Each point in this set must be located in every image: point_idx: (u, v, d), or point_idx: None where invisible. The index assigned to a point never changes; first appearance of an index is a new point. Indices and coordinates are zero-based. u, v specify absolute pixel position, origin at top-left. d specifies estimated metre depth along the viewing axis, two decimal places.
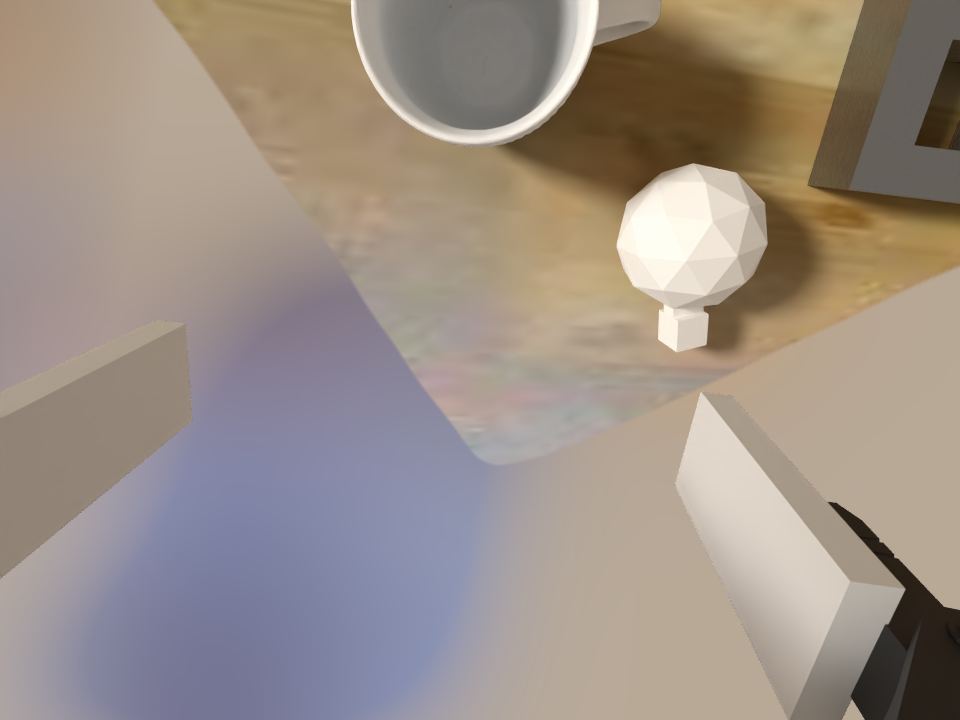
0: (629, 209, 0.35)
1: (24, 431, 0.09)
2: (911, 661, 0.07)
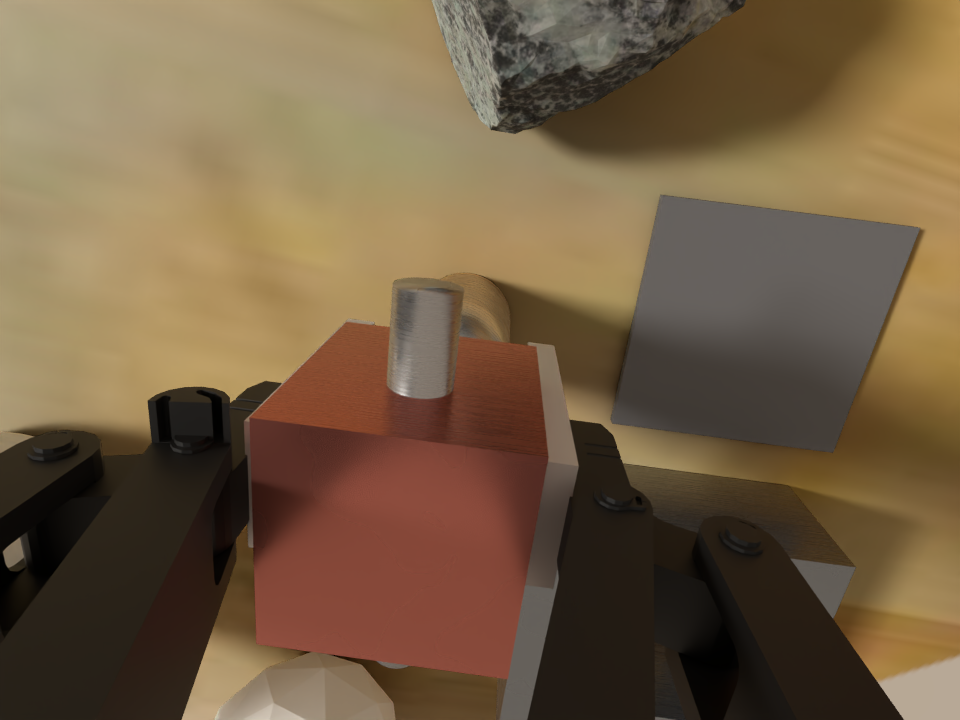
0: None
1: None
2: (569, 529, 0.08)
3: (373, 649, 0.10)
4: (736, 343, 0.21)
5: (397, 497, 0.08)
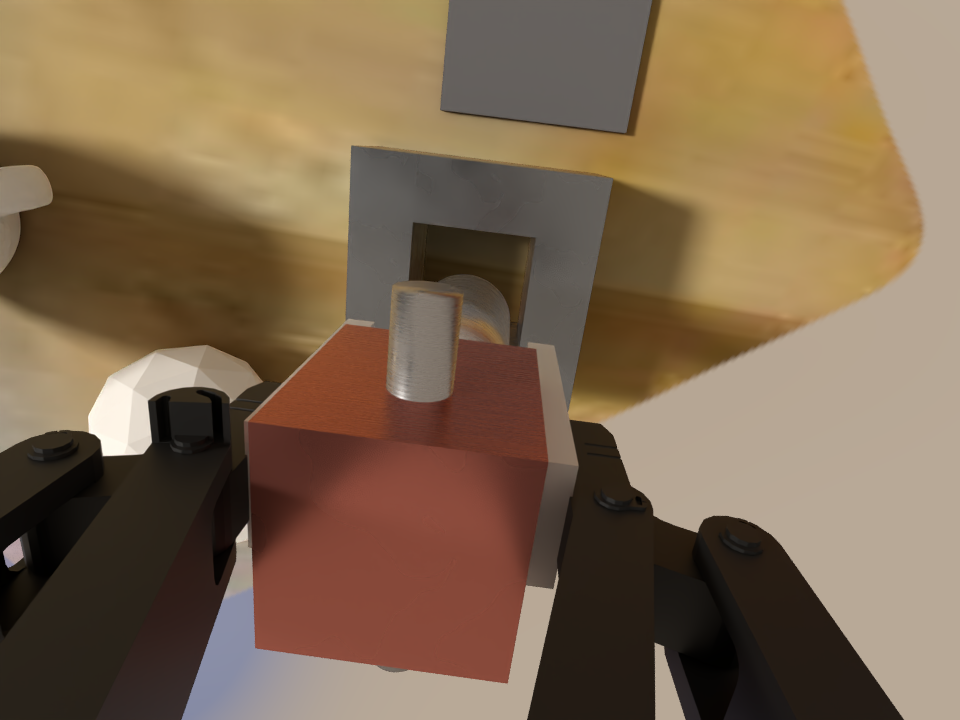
0: None
1: None
2: (570, 529, 0.08)
3: (372, 653, 0.10)
4: (534, 24, 0.25)
5: (396, 501, 0.08)
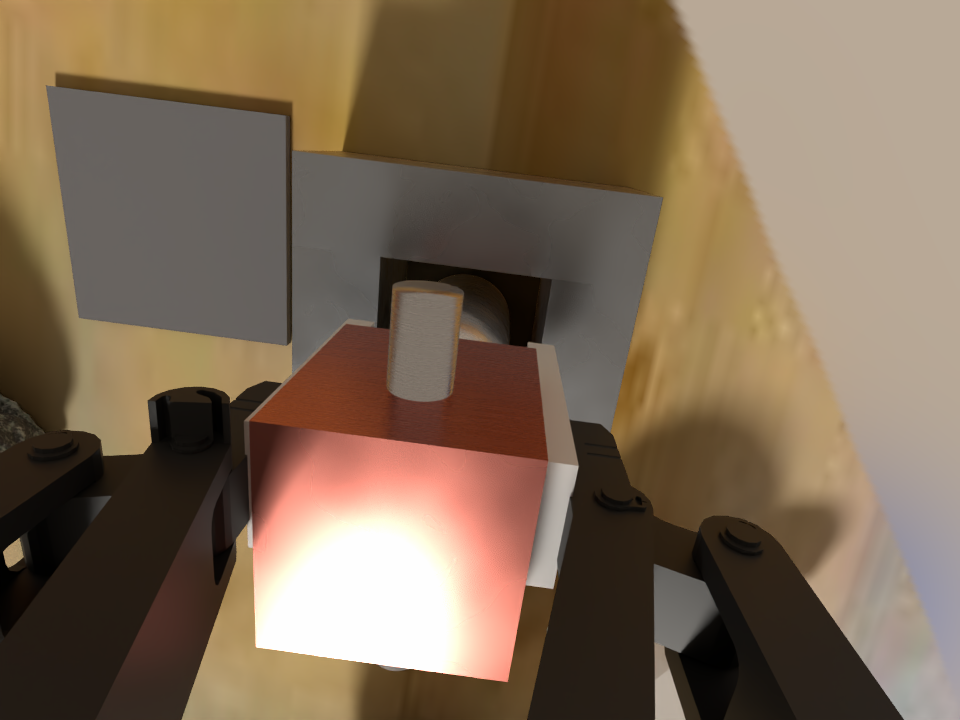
0: None
1: None
2: (569, 529, 0.08)
3: (373, 651, 0.10)
4: (187, 239, 0.22)
5: (397, 500, 0.08)
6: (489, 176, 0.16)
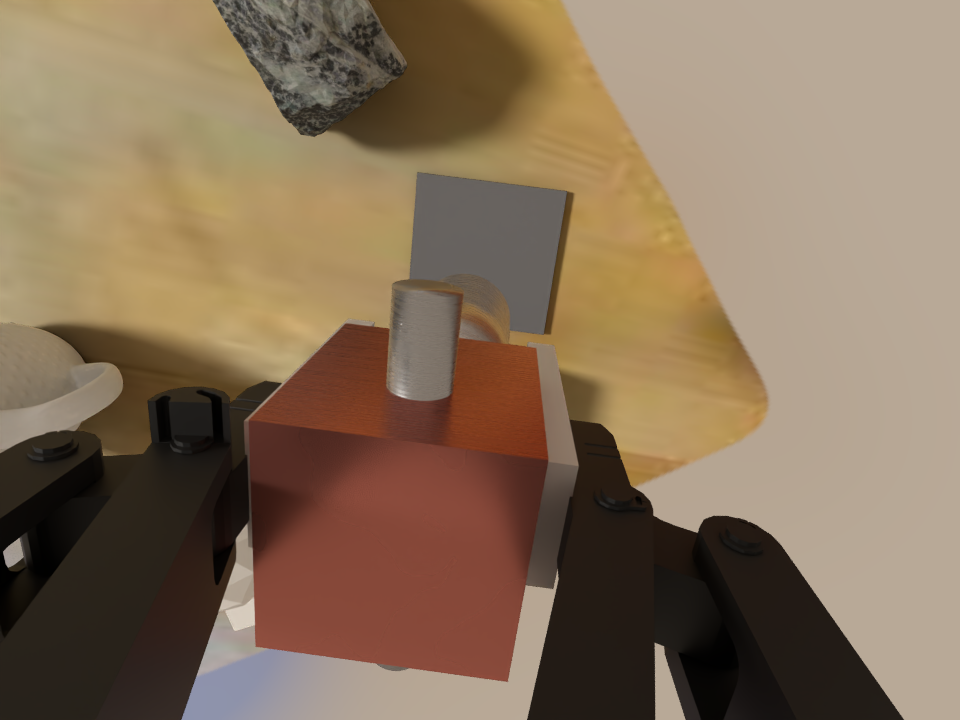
0: None
1: None
2: (569, 529, 0.08)
3: (373, 651, 0.10)
4: (473, 263, 0.35)
5: (397, 500, 0.08)
6: None
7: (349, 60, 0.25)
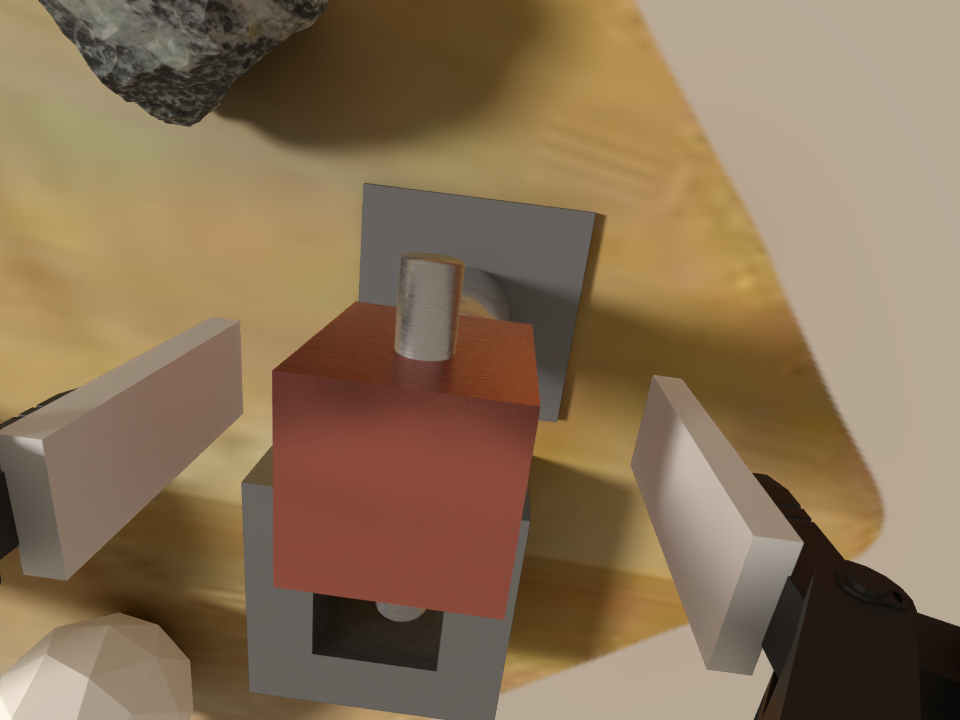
0: None
1: (113, 419, 0.10)
2: (805, 610, 0.07)
3: (380, 591, 0.10)
4: None
5: (404, 444, 0.09)
6: (508, 638, 0.23)
7: None
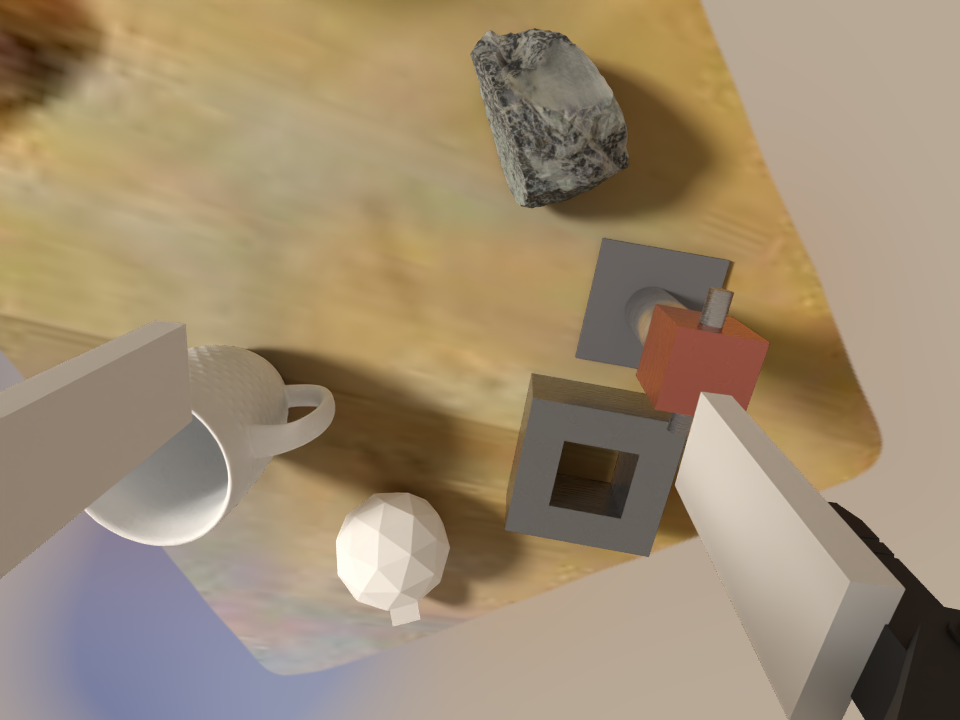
0: (341, 527, 0.44)
1: (24, 431, 0.09)
2: (910, 661, 0.07)
3: None
4: None
5: (719, 354, 0.27)
6: (666, 498, 0.40)
7: (597, 159, 0.31)
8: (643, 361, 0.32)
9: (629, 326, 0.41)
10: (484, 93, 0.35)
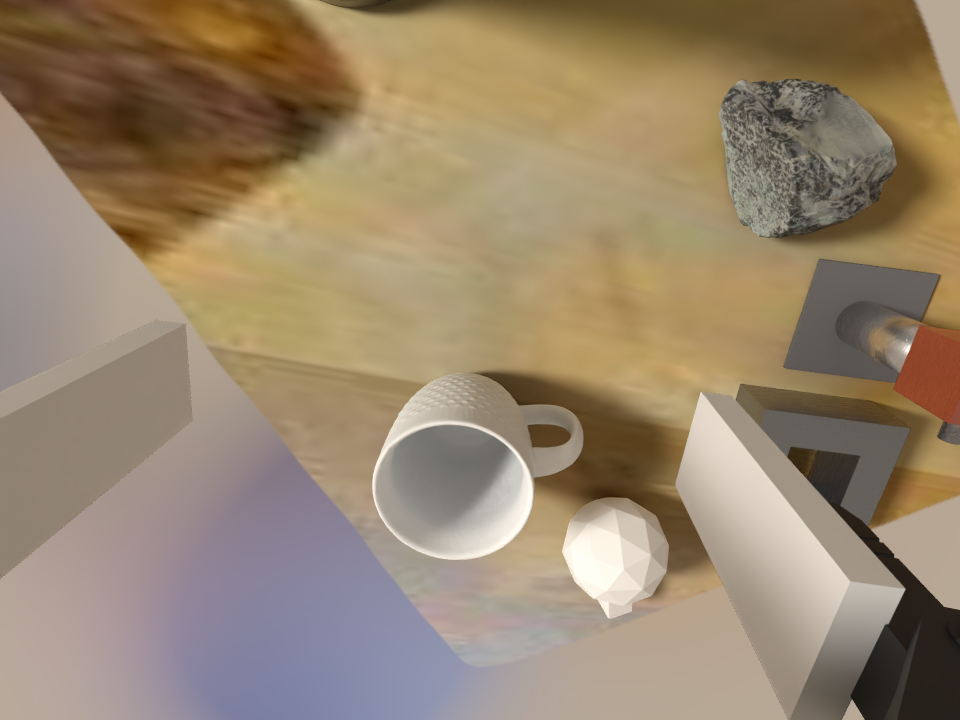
0: (570, 532, 0.48)
1: (24, 431, 0.09)
2: (910, 661, 0.07)
3: None
4: None
5: None
6: (881, 494, 0.44)
7: (864, 198, 0.35)
8: (907, 377, 0.35)
9: (841, 338, 0.44)
10: (733, 136, 0.38)
